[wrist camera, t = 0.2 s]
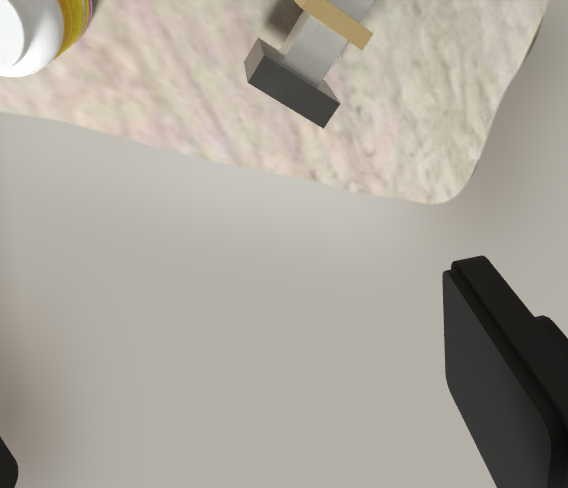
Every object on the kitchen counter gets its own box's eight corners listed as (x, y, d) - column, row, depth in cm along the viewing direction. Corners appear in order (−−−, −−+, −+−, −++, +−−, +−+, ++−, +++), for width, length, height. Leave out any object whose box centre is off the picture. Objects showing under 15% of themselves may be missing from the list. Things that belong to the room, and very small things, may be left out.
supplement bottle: (102, -32, 38) (55, -13, 27) (85, 59, 41) (36, 109, 30) (1, -71, 36) (-93, -68, 25) (-10, 27, 39) (-98, 68, 28)
